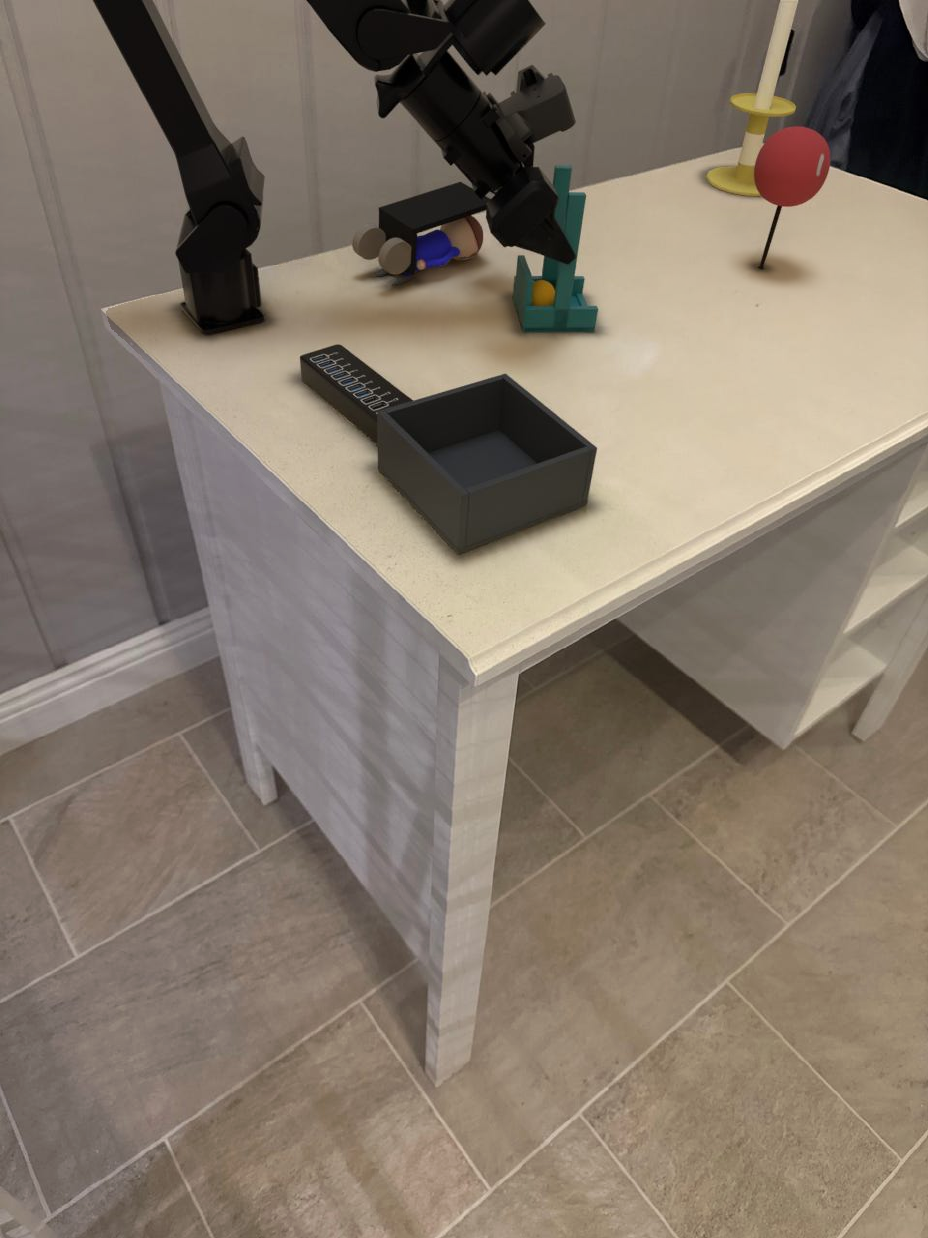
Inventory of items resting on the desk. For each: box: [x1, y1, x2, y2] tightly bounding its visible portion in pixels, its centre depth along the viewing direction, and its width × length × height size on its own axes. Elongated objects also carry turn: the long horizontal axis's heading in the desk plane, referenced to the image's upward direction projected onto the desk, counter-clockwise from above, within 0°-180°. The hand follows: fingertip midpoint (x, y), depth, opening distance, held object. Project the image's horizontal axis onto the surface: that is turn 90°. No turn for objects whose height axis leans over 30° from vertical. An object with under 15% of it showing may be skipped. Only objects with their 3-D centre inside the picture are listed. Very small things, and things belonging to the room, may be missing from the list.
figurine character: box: [351, 181, 491, 286], centre depth 99 cm, size 7×8×15 cm
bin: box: [377, 373, 598, 555], centre depth 72 cm, size 12×12×6 cm
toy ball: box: [531, 280, 555, 306], centre depth 94 cm, size 3×3×3 cm
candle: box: [705, 0, 799, 197], centre depth 117 cm, size 10×10×27 cm
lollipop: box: [754, 125, 831, 270], centre depth 101 cm, size 8×8×15 cm
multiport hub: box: [299, 343, 414, 445], centre depth 81 cm, size 4×14×2 cm, turn 38°
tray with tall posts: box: [511, 164, 599, 333], centre depth 91 cm, size 7×7×14 cm
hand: (563, 239), depth 90 cm, fingers open, 9 cm apart
